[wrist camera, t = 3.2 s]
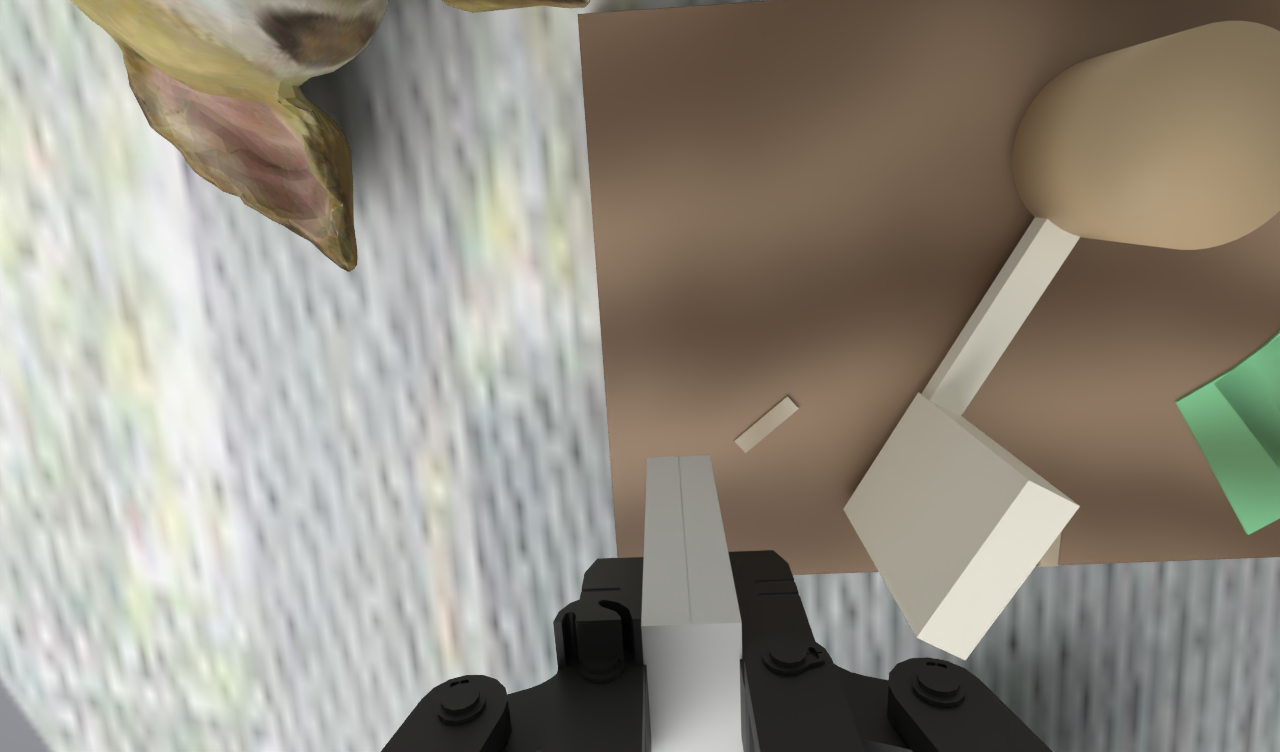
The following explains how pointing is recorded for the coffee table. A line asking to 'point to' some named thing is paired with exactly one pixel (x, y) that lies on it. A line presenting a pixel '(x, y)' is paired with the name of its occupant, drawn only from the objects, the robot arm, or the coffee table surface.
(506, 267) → the coffee table surface
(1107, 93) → the knob lever
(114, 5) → the ceramic sculpture
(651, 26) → the dial plate
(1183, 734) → the coffee table surface
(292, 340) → the coffee table surface
